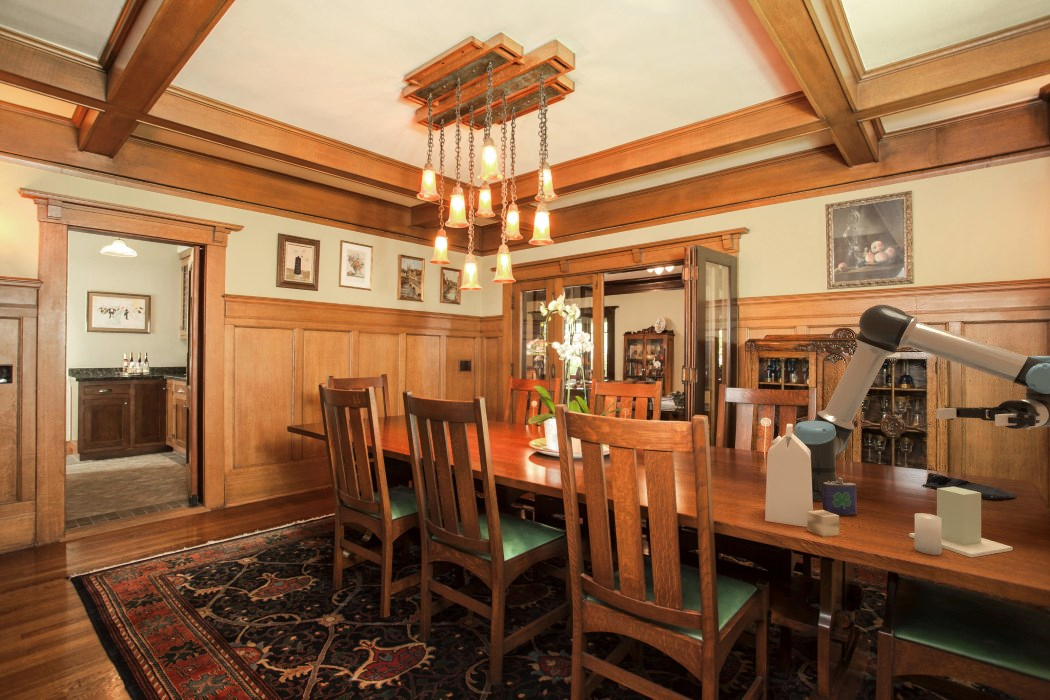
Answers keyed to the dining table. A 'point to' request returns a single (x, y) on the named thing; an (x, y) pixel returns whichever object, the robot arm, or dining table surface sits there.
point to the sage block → (959, 515)
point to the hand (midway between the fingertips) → (965, 416)
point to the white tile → (974, 547)
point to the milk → (788, 481)
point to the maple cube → (823, 523)
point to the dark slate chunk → (966, 486)
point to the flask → (839, 498)
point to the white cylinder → (928, 534)
